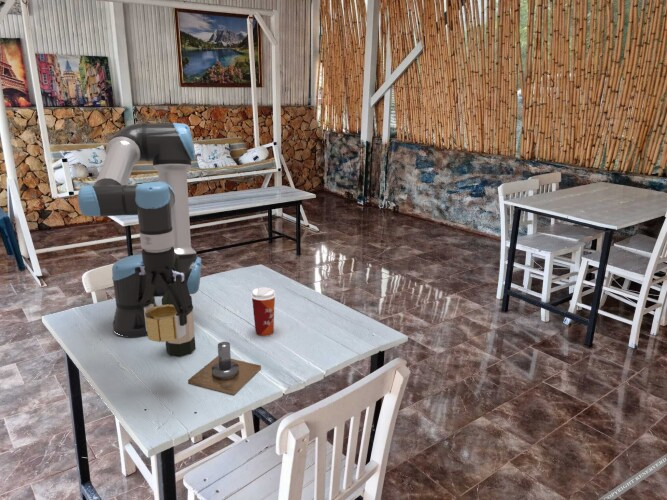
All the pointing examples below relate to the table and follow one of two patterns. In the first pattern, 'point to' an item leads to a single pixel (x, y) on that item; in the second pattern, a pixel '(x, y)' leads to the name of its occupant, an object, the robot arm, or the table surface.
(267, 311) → the paper cup
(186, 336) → the wine bottle
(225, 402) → the table surface
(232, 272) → the table surface
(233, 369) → the doorknob
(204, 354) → the table surface
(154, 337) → the collar
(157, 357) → the table surface
